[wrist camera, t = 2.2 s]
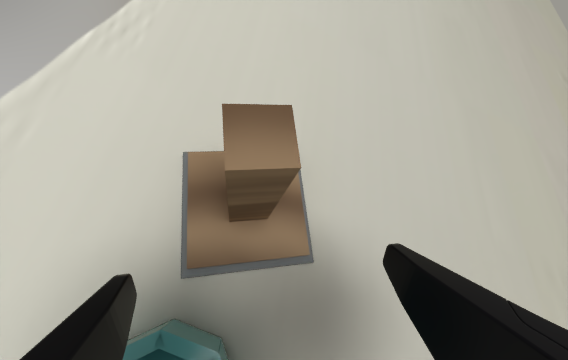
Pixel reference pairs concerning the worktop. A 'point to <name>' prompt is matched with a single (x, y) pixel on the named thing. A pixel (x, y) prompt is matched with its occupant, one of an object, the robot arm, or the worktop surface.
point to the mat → (237, 267)
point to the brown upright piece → (247, 191)
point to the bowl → (175, 344)
